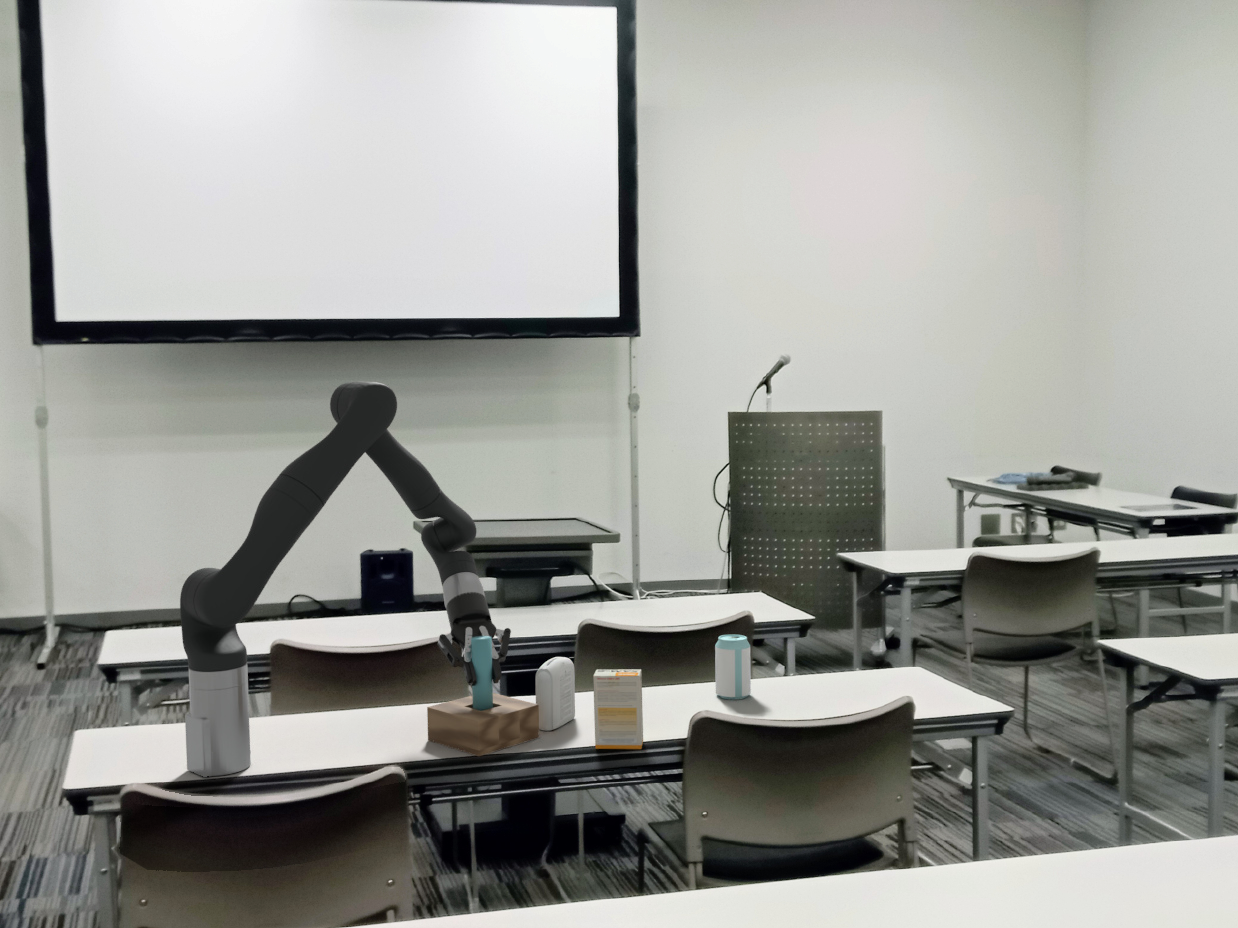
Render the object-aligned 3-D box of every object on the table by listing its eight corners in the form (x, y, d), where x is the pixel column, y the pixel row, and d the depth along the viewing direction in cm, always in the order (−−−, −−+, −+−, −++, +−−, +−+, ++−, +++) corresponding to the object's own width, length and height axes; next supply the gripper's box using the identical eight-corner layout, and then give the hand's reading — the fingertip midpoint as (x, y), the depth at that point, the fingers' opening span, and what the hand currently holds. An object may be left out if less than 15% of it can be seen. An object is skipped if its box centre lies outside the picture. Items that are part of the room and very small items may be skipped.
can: (711, 692, 236) (711, 634, 235) (744, 690, 237) (744, 632, 236) (720, 701, 229) (720, 641, 228) (755, 699, 230) (754, 639, 229)
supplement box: (643, 741, 203) (642, 668, 202) (641, 750, 198) (640, 675, 198) (597, 740, 204) (596, 667, 203) (593, 749, 199) (592, 674, 198)
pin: (481, 724, 203) (480, 641, 202) (468, 721, 206) (466, 638, 205) (497, 720, 206) (495, 637, 205) (484, 716, 208) (482, 634, 207)
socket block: (478, 756, 196) (477, 721, 196) (428, 740, 206) (427, 706, 205) (539, 737, 206) (538, 704, 206) (488, 722, 216) (487, 691, 216)
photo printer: (557, 715, 220) (556, 651, 220) (578, 717, 219) (577, 653, 218) (532, 730, 211) (531, 663, 210) (553, 732, 209) (552, 665, 209)
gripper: (431, 594, 209) (449, 675, 198) (506, 587, 214) (528, 666, 204) (425, 617, 214) (443, 698, 203) (498, 611, 219) (519, 689, 209)
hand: (485, 681), depth 204 cm, fingers closed on pin, 3 cm apart
